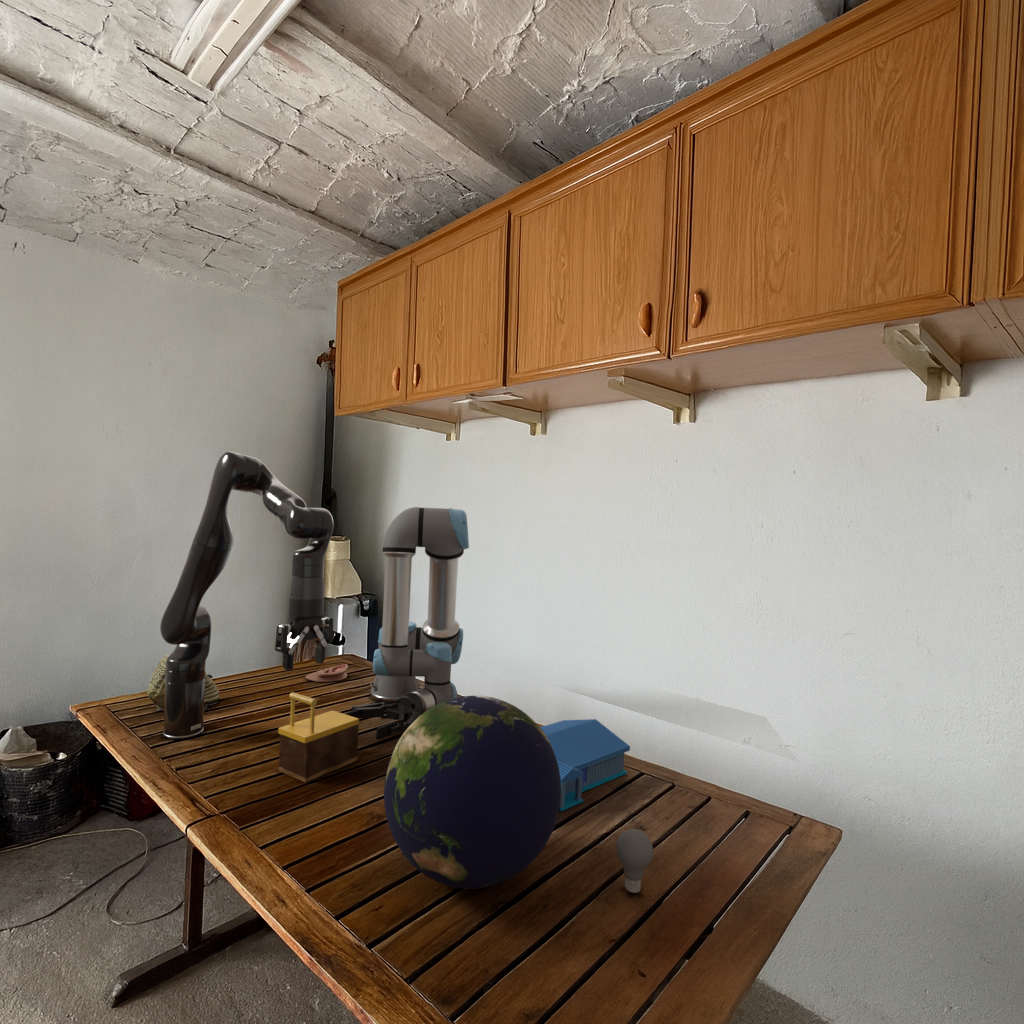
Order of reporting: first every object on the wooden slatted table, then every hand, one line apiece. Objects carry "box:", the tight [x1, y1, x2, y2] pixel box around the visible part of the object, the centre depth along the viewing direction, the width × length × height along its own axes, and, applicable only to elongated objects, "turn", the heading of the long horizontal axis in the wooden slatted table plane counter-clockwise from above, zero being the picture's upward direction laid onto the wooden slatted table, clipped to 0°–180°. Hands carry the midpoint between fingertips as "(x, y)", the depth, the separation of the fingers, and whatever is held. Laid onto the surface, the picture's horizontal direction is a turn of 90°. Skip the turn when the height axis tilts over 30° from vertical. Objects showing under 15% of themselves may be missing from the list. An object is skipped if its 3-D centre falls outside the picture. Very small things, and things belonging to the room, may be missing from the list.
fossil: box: [147, 654, 221, 712], centre depth 185 cm, size 9×18×15 cm, turn 132°
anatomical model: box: [304, 663, 349, 683], centre depth 219 cm, size 13×4×12 cm
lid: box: [277, 691, 360, 743], centre depth 149 cm, size 16×9×9 cm, turn 147°
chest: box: [278, 723, 360, 783], centre depth 149 cm, size 15×9×9 cm, turn 147°
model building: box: [539, 718, 631, 812], centre depth 145 cm, size 39×24×10 cm, turn 132°
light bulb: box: [615, 828, 654, 894], centre depth 106 cm, size 6×6×10 cm
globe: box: [383, 694, 561, 890], centre depth 108 cm, size 30×30×30 cm
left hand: (304, 666), depth 144 cm, fingers open, 8 cm apart
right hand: (357, 727), depth 157 cm, fingers open, 13 cm apart
